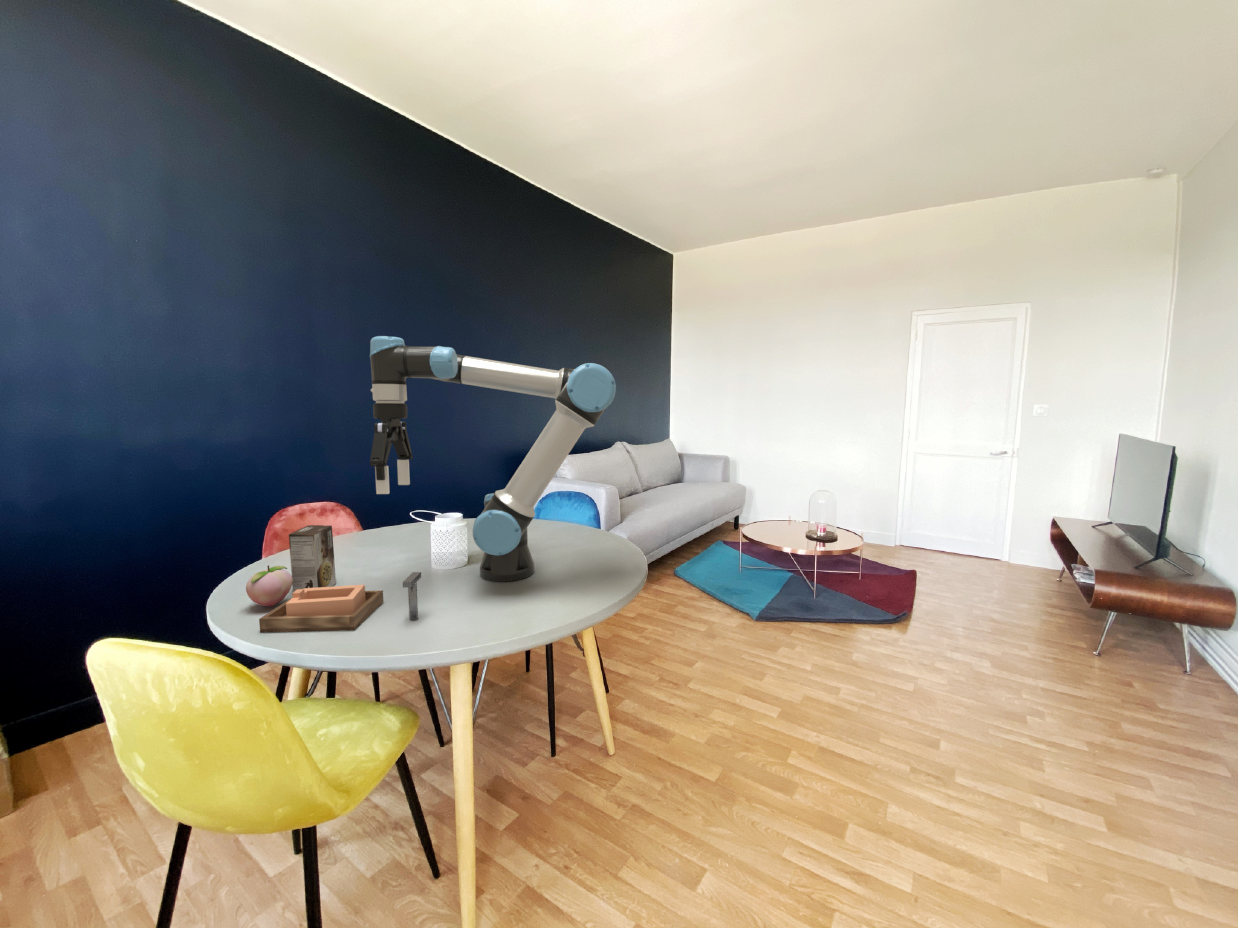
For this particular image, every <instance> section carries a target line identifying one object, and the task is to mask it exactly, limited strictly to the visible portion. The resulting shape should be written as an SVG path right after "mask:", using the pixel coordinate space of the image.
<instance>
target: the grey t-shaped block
mask: <svg viewBox="0 0 1238 928" xmlns="http://www.w3.org/2000/svg"><path fill="white" fill-rule="evenodd" d="M421 578H422V572H421V571H413V572H411V573H410V575H408V576H407V577H406V578H405V579H404V580H403V581H402V588H407V592H408V614H409V615H408V619H409V621H410V622H414V621H418V619H419V604H418V583H417V582H418V581H419V580H420V579H421Z"/></svg>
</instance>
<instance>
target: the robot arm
mask: <svg viewBox="0 0 1238 928" xmlns="http://www.w3.org/2000/svg"><path fill="white" fill-rule="evenodd" d="M369 349H370V352H369V358H370V370H371V371H370V373H371V385H372V386H371V387H372V388H370V392H371V393H372V400H373V401H375V403H373V404H372V410H373V411H372V413H373V418H374V419H375V420H376V419H377V420H380V422H374V426H373V428H374V430H373V431H374V434H373V439H372V447H371V452H370V458H369V466H370V467H374V473H375V491H376V492H375V493H376V495H389V494H390V492H391V491H390V475H389V473H390V471H389V465H387V463H388V460H389V456H390V453H391V448H392V445H393V447H394V450H395V452H396V455H397V458H398V459H396V461H397V462H396V464H397V465H396V466H397V467H396V468H397V485H398V486H409V485H411V480H410V479H411V478H410V460H413V457H414V455H413V452H412V449H411V448H412V447H411V444H410V443H411V442H410V437H409V434H408V429H407V422H406V421H401V419H403V420H406V419H407V418H408V405H407V403H405V402H407V401H408V395H407V394H408V392H407V382H406V381H407V379H431V380H437V381H440V382H445V383H453V384H454V383H455V384H462V385H469V386H475V387H481V388H488V389H493V390H500V391H505V392H506V391H507V392H512V393H513V392H514V393H518V394H519V393H520V394H526V395H531V396H537V397H538V396H539V397H545V398H551V399H555V400H554V402H555V407H556V408H555V409H556V410H555V411H554V413H553V414H552V415H551V417H550V419H549V421H548V422H547V423H546V425H545V426H544V427H543V430H542V431H541V432H540V434H539V436H538V438H537V439H536V440H535V442H534V444H533V445H532V446H531V448H530V450H529V451H528V453H527V454H526V455H525V457H524V459H523V460H522V462H521V464H519V466H518V467H517V469H516V471H515V472H514V474H513V475H512V477H511V478H510V480H509V481H508V483H507V484H506V486H505V488H503V489H499V490H495V492H493V493H488V494H486V495H485V496H484V501H483V505H484V509H483V510H482V512H481V513H480V514H479V515H478V516H477V517H476V519H474V522H473V525H472V538H473V540H474V543H475V545H476V546H477V547H478V548H479V549H480V550H481V551H482V552H484V553H483V556H482V559H481V562H480V565H479V576H480V577H481V578H482V579H484V580H486V581H491V582H513V581H519V580H523V579H525V578H528V577H530V576H532V575H533V574H534V573H535V563H534V560H533V557H532V554H531V551H530V548H529V545H528V544H529V543H528V540H529V539H528V527H529V525H530V524H531V522H532V521H533V520H534V518H535V516H536V512H535V506H536V505H537V503H538V501H539V499H540V498H541V496H542V495H543V493H544V491H546V490H547V487H548V485H549V484H550V482H551V481H552V480H553V478H554V477H555V475H556V473H557V472H558V471H559V469H560V468H561V466H562V464H563V463H564V461H565V460H566V458H567V457H568V456H569V453H570V452H571V451H572V449H573V448H574V446H575V444H576V443H577V442H578V440H579V439H580V437H581V436H582V434H583V432H584V431H585V430H586V429H588V428H592V427H595V425H596V423H597V422H598V421H599V419H600V417H602V415H603V413H604V411H605V410H606V409H607V408H608V407H609V406H610V405H611V404H612V403H613V401H614V399H615V396H616V393H617V386H616V385H617V384H616V380H615V378H614V376H613V374H612V373H611V372H610V371H609V370H608V369H607V368H606V367H604V366H603V365H601V364H597V363H593V362H587V363H583V364H581V365H579V366H576V368H567V367H562V368H561V369H559V370H556V369H551V368H544V367H537V366H531V365H524V364H517V363H511V362H507V361H500V360H493V359H487V358H481V357H473V356H469V355H463V354H457V353H456V350H455V349H454V348H453V347H449V346H441V345H437V346H410V345H406V344H405V340H404V339H403V338H401V337H397V336H388V335H387V336H386V335H377V336H374V337H372V338H371V339H370V348H369Z"/></svg>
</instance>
